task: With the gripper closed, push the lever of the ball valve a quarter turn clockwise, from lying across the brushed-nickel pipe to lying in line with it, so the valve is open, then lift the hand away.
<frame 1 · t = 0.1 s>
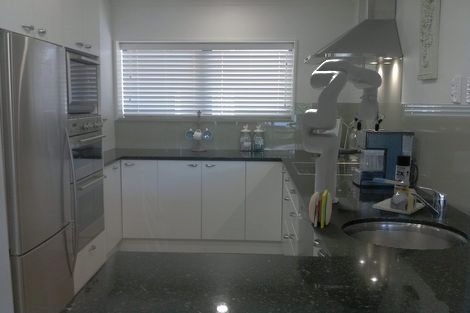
hand: (367, 130, 232), 31 cm above the worktop, tool pointing down, fingers open, 9 cm apart
hamburger: (319, 223, 164), on the worktop
spray can: (401, 194, 221), on the worktop
lever: (391, 181, 194), point 11 cm above the worktop, hinge at 90.0°
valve: (403, 207, 192), on the worktop
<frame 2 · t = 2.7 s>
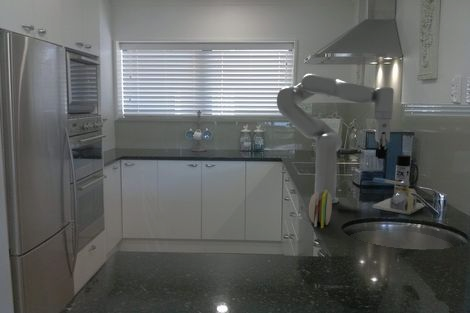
hand: (380, 157, 189), 22 cm above the worktop, tool pointing down, fingers open, 5 cm apart
nothing on the worktop moved.
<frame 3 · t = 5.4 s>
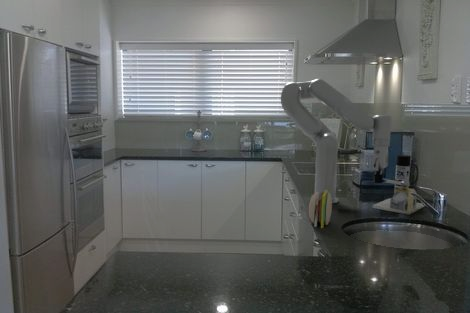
hand: (378, 182, 196), 10 cm above the worktop, tool pointing down, fingers closed
lever: (391, 181, 194), point 11 cm above the worktop, hinge at 85.7°, touching gripper
everything else where it was.
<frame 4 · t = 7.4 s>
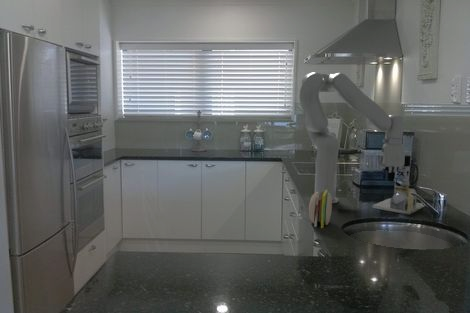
hand: (390, 180, 201), 10 cm above the worktop, tool pointing down, fingers closed
lever: (400, 181, 196), point 11 cm above the worktop, hinge at 36.5°, touching gripper
everything else where it was.
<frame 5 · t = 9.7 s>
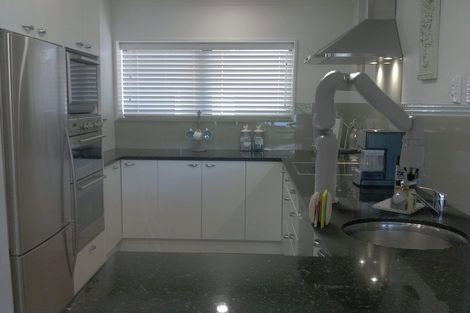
hand: (410, 182, 200), 10 cm above the worktop, tool pointing down, fingers closed
lever: (411, 182, 194), point 11 cm above the worktop, hinge at -9.7°, touching gripper
everything else where it was.
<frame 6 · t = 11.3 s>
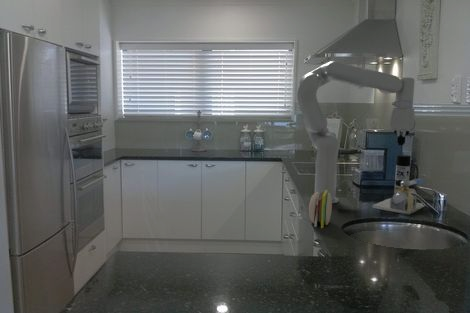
hand: (401, 145, 199), 27 cm above the worktop, tool pointing down, fingers closed
lever: (411, 182, 194), point 11 cm above the worktop, hinge at -9.8°
everything else where it was.
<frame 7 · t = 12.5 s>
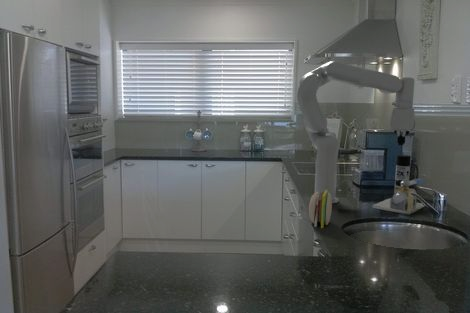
hand: (401, 144, 199), 27 cm above the worktop, tool pointing down, fingers closed
nothing on the worktop moved.
at the end: lever at -10° (first picture: +90°) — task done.
